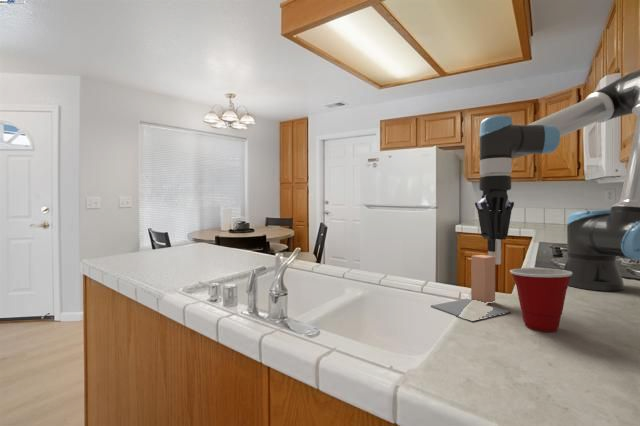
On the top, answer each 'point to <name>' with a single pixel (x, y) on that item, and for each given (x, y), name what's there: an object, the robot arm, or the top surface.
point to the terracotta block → (483, 278)
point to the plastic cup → (541, 296)
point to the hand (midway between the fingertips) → (494, 263)
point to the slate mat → (459, 305)
